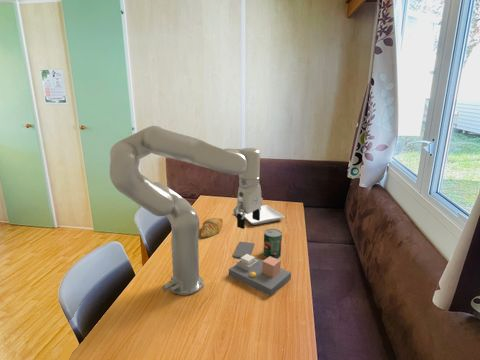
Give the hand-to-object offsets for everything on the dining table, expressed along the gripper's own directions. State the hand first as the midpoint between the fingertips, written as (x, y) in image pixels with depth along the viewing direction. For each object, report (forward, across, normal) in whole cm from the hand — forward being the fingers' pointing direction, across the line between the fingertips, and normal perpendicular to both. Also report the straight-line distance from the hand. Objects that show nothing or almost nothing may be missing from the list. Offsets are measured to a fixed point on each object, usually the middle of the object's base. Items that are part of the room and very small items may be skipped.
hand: (248, 223), depth 121 cm
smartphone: (+22, +12, +12) cm, 28 cm away
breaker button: (+16, -1, 0) cm, 16 cm away
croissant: (+22, +18, +37) cm, 47 cm away
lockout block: (+18, +1, -10) cm, 21 cm away
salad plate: (+22, +48, +28) cm, 60 cm away
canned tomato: (+22, +17, 0) cm, 28 cm away
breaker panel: (+21, -1, -6) cm, 22 cm away
